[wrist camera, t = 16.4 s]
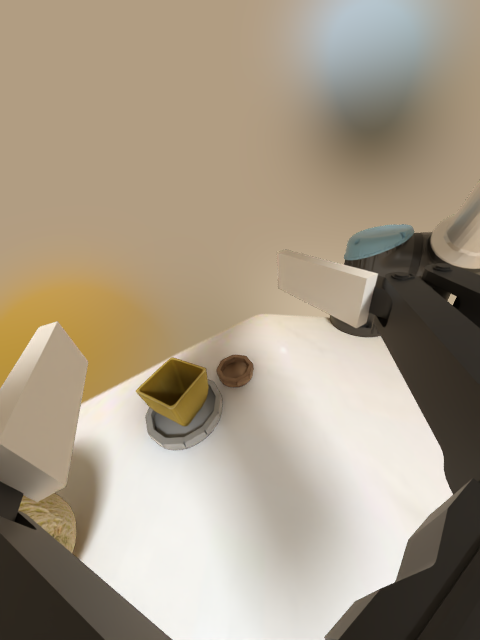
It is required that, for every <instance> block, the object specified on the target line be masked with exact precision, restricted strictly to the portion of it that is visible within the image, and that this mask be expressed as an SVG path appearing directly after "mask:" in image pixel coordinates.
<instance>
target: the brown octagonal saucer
mask: <svg viewBox="0 0 480 640" xmlns="http://www.w3.org/2000/svg"><path fill="white" fill-rule="evenodd" d="M217 374H218V376H219V378H220V380H221V382H222V383H223V384H224V385H226V386H228V387H240V386H243V385H245V384H246V383H248V382H249V381H250V379H251V378H252V375H253V363H252V362H251V361H250V360H249V359H248V358H247V356H242V355H231V356H229V357H227V358H225V359H223V360H222V361H221V362H220V364H219V366H218V368H217Z"/></svg>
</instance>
